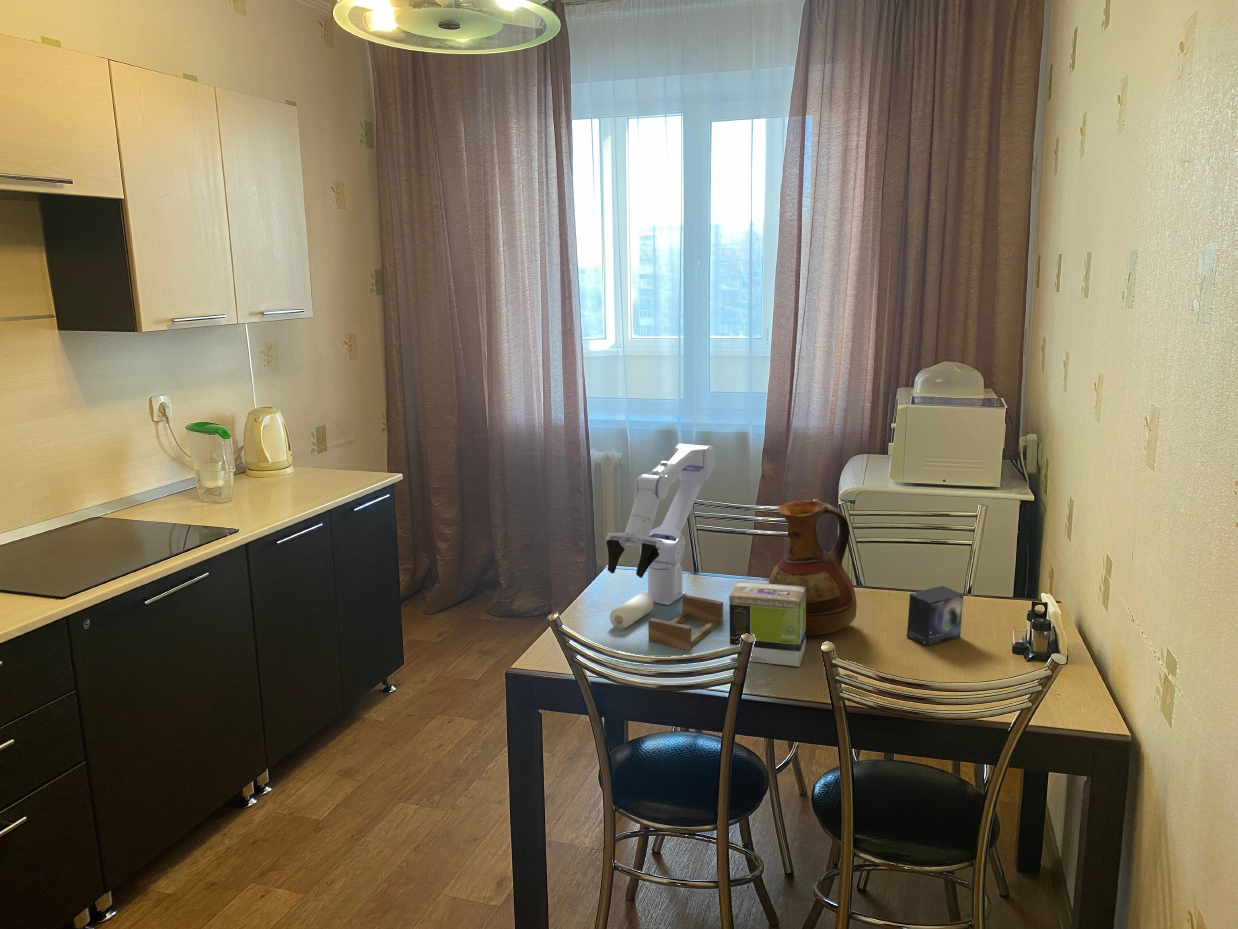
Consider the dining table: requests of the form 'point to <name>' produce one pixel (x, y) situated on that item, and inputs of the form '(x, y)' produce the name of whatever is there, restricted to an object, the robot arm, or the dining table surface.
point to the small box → (935, 615)
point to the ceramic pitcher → (817, 567)
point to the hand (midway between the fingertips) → (624, 574)
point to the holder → (682, 634)
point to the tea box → (769, 621)
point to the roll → (631, 611)
